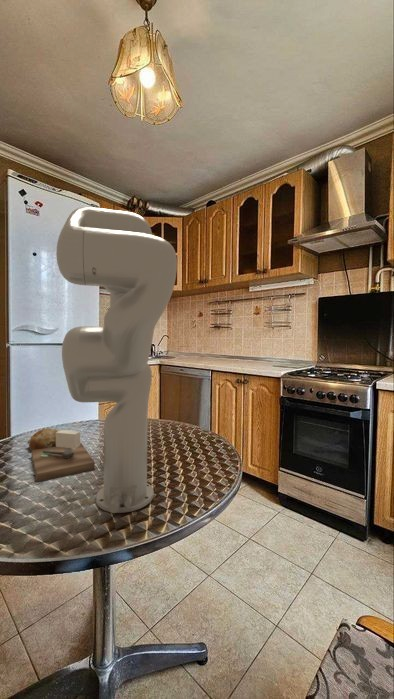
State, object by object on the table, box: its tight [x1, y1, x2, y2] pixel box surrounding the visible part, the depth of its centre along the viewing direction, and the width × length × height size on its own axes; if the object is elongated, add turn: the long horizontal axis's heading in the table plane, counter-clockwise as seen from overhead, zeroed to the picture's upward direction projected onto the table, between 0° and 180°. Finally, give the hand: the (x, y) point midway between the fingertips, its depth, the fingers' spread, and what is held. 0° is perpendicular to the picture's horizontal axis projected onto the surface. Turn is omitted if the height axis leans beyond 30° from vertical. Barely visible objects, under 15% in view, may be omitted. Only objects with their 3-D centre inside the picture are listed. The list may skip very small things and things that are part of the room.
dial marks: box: [40, 448, 76, 457], centre depth 89 cm, size 4×11×1 cm, turn 139°
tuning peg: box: [43, 429, 81, 458], centre depth 85 cm, size 11×3×7 cm, turn 78°
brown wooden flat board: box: [31, 441, 96, 483], centre depth 86 cm, size 18×14×2 cm
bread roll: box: [27, 428, 58, 452], centre depth 98 cm, size 10×10×8 cm
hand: (123, 372), depth 89 cm, fingers open, 9 cm apart
